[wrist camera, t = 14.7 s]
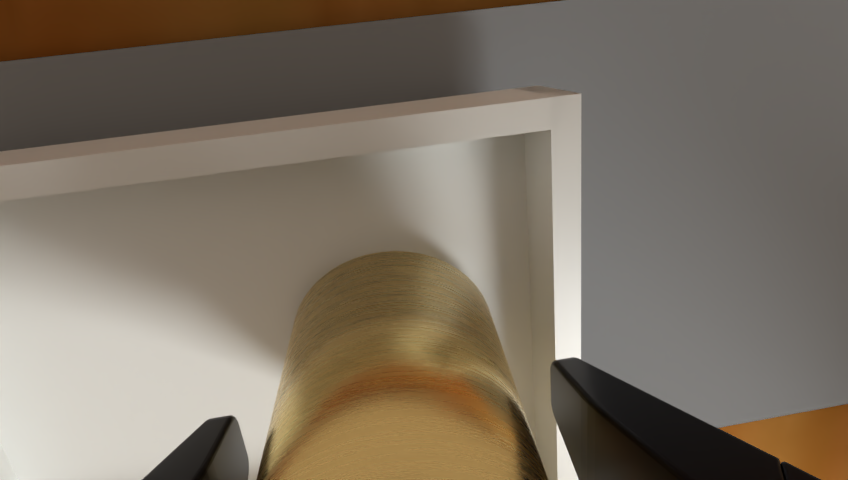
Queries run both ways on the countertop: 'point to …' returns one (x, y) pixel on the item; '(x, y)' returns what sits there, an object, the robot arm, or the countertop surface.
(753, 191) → the lane mat
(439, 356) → the small wooden cylinder
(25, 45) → the countertop surface
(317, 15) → the countertop surface
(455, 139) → the white shallow tray
